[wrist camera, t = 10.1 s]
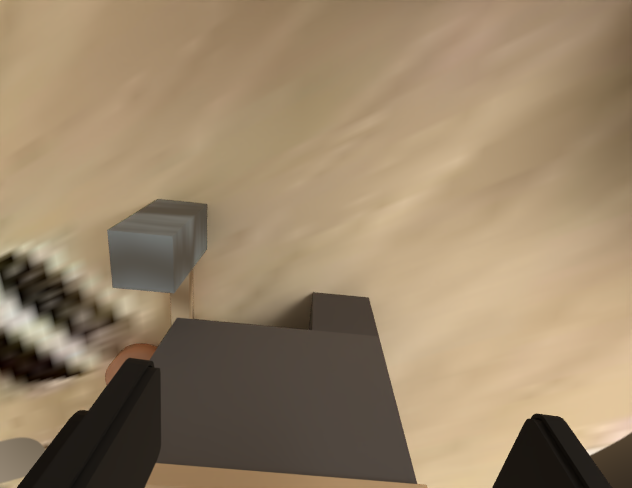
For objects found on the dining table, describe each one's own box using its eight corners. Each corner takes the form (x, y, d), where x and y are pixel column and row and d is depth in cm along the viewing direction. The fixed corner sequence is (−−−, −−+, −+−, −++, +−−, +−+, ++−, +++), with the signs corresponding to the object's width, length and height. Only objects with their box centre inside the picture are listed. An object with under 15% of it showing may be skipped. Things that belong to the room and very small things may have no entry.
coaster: (113, 340, 36) (102, 352, 34) (176, 344, 36) (169, 357, 34) (119, 390, 38) (108, 405, 36) (179, 395, 38) (172, 409, 36)
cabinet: (193, 277, 34) (53, 477, 16) (372, 295, 34) (432, 506, 16) (194, 437, 40) (96, 706, 22) (344, 449, 41) (366, 722, 23)
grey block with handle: (157, 199, 31) (107, 230, 24) (207, 204, 31) (172, 236, 24) (167, 417, 39) (131, 492, 32) (206, 420, 39) (180, 495, 32)
